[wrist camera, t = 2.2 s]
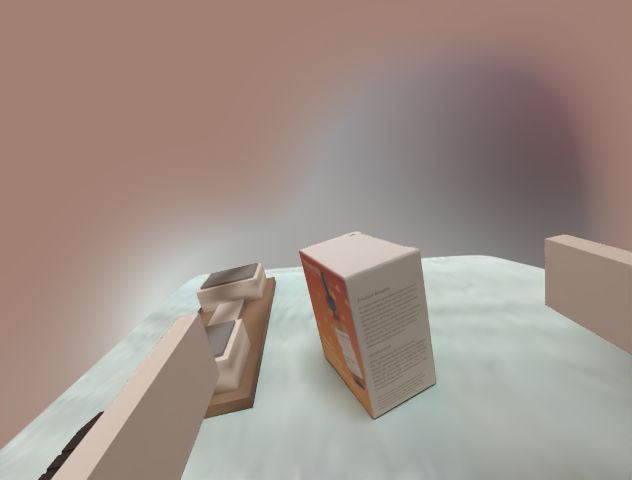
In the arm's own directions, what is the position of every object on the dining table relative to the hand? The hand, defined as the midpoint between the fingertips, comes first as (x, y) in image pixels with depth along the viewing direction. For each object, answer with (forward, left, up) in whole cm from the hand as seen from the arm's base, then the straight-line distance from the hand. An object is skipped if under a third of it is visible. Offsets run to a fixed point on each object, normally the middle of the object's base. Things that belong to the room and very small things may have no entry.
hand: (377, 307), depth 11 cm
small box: (-1, -10, -12) cm, 15 cm away
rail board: (+14, -21, -11) cm, 28 cm away
